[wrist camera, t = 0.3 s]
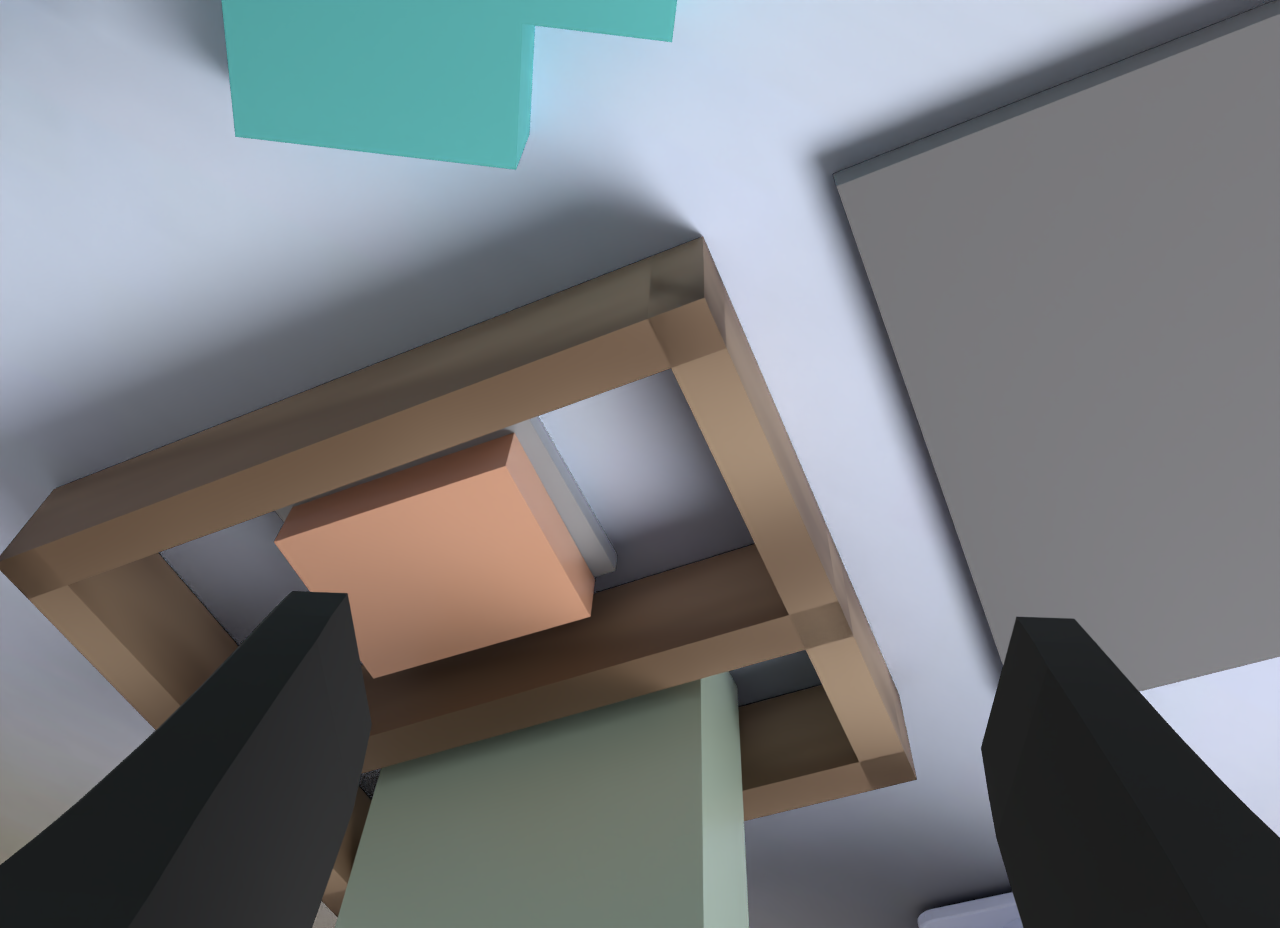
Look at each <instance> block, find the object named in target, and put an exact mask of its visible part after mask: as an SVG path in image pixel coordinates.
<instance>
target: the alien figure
mask: <svg viewBox="0 0 1280 928" xmlns="http://www.w3.org/2000/svg"><path fill="white" fill-rule="evenodd" d="M221 1H222V11H223V21H224V30H225V40H226V50H227V60H228V69H229V79H230V89H231V98H232V108H233V118H234V128H235V137H243V138H251V139H260V140H268V141H277V142H285V143H294V144H302V145H311V146H319V147H328V148H336V149H345V150H353V151H362V152H370V153H379V154H387V155H396V156H404V157H413V158H421V159H430V160H438V161H447V162H455V163H464V164H472V165H480V166H489V167H497V168H506V169H514V170H516V169H517V166H518V163H519V161H520V158H521V155H522V153H523V150H524V147H525V145H526V142H527V139H528V137H529V133H530V114H531V94H532V74H533V54H534V35H535V26H544V27H552V28H560V29H568V30H576V31H585V32H593V33H601V34H609V35H617V36H626V37H634V38H642V39H650V40H659V41H667V42H672V38H673V29H674V21H675V13H676V4H677V0H221Z"/></svg>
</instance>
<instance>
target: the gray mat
mask: <svg viewBox="0 0 1280 928" xmlns="http://www.w3.org/2000/svg"><path fill="white" fill-rule="evenodd" d="M833 176H834V180H835V183H836V186H837V189H838V192H839V195H840V198H841V201H842V204H843V207H844V209H845V212H846V215H847V218H848V221H849V224H850V227H851V230H852V233H853V235H854V238H855V241H856V244H857V247H858V250H859V253H860V256H861V258H862V261H863V264H864V267H865V270H866V273H867V276H868V279H869V281H870V284H871V287H872V290H873V293H874V296H875V299H876V302H877V304H878V307H879V310H880V313H881V316H882V319H883V322H884V325H885V328H886V330H887V333H888V336H889V339H890V342H891V345H892V348H893V351H894V353H895V356H896V359H897V362H898V365H899V368H900V371H901V374H902V376H903V379H904V382H905V385H906V388H907V391H908V394H909V397H910V399H911V402H912V405H913V408H914V411H915V414H916V417H917V420H918V423H919V425H920V428H921V431H922V434H923V437H924V440H925V443H926V446H927V448H928V451H929V454H930V457H931V460H932V463H933V466H934V469H935V471H936V474H937V477H938V480H939V483H940V486H941V489H942V492H943V494H944V497H945V500H946V503H947V506H948V509H949V512H950V515H951V518H952V520H953V523H954V526H955V529H956V532H957V535H958V538H959V541H960V543H961V546H962V549H963V552H964V555H965V558H966V561H967V564H968V566H969V569H970V572H971V575H972V578H973V581H974V584H975V587H976V589H977V592H978V595H979V598H980V601H981V604H982V607H983V610H984V613H985V615H986V618H987V621H988V624H989V627H990V630H991V633H992V636H993V638H994V641H995V644H996V647H997V650H998V653H999V656H1000V659H1001V661H1002V664H1003V665H1004V661H1005V657H1006V653H1007V650H1008V646H1009V642H1010V639H1011V635H1012V631H1013V628H1014V624H1015V620H1016V617H1043V618H1072V619H1075V620H1076V621H1077V622H1078V623H1079V624H1080V625H1081V627H1082V628H1083V629H1084V630H1085V631H1086V632H1087V633H1088V634H1089V635H1090V637H1091V638H1092V639H1093V640H1094V641H1095V642H1096V643H1097V645H1098V646H1099V647H1100V648H1101V649H1102V650H1103V651H1104V652H1105V654H1106V655H1107V656H1108V657H1109V658H1110V659H1111V660H1112V661H1113V663H1114V664H1115V665H1116V666H1117V667H1118V668H1119V669H1120V671H1121V672H1122V673H1123V674H1124V675H1125V676H1126V677H1127V678H1128V680H1129V681H1130V682H1131V683H1132V684H1133V685H1134V686H1135V687H1136V689H1137V690H1138V691H1143V690H1147V689H1151V688H1155V687H1159V686H1163V685H1167V684H1171V683H1175V682H1179V681H1183V680H1188V679H1192V678H1196V677H1200V676H1204V675H1208V674H1212V673H1216V672H1220V671H1224V670H1228V669H1232V668H1236V667H1240V666H1244V665H1248V664H1252V663H1256V662H1260V661H1264V660H1268V659H1272V658H1276V657H1280V0H1275V1H1272V2H1270V3H1267V4H1265V5H1262V6H1259V7H1257V8H1254V9H1252V10H1249V11H1247V12H1244V13H1242V14H1239V15H1237V16H1234V17H1231V18H1229V19H1226V20H1224V21H1221V22H1219V23H1216V24H1214V25H1211V26H1209V27H1206V28H1203V29H1201V30H1198V31H1196V32H1193V33H1191V34H1188V35H1186V36H1183V37H1180V38H1178V39H1175V40H1173V41H1170V42H1168V43H1165V44H1163V45H1160V46H1158V47H1155V48H1152V49H1150V50H1147V51H1145V52H1142V53H1140V54H1137V55H1135V56H1132V57H1130V58H1127V59H1124V60H1122V61H1119V62H1117V63H1114V64H1112V65H1109V66H1107V67H1104V68H1101V69H1099V70H1096V71H1094V72H1091V73H1089V74H1086V75H1084V76H1081V77H1079V78H1076V79H1073V80H1071V81H1068V82H1066V83H1063V84H1061V85H1058V86H1056V87H1053V88H1051V89H1048V90H1045V91H1043V92H1040V93H1038V94H1035V95H1033V96H1030V97H1028V98H1025V99H1023V100H1020V101H1017V102H1015V103H1012V104H1010V105H1007V106H1005V107H1002V108H1000V109H997V110H994V111H992V112H989V113H987V114H984V115H982V116H979V117H977V118H974V119H972V120H969V121H966V122H964V123H961V124H959V125H956V126H954V127H951V128H949V129H946V130H944V131H941V132H938V133H936V134H933V135H931V136H928V137H926V138H923V139H921V140H918V141H916V142H913V143H910V144H908V145H905V146H903V147H900V148H898V149H895V150H893V151H890V152H887V153H885V154H882V155H880V156H877V157H875V158H872V159H870V160H867V161H865V162H862V163H859V164H857V165H854V166H852V167H849V168H847V169H844V170H842V171H839V172H837V173H834V174H833Z"/></svg>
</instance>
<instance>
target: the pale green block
mask: <svg viewBox="0 0 1280 928" xmlns="http://www.w3.org/2000/svg"><path fill="white" fill-rule="evenodd" d="M335 928H749V915H748V894H747V874H746V853H745V833H744V812H743V792H742V771H741V751H740V730H739V710H738V689H737V686H736V684H735V682H734V680H733V678H732V676H731V674H730V673H729V671H727V672H724V673H720V674H717V675H713V676H709V677H706V678H702V679H699V680H695V681H692V682H688V683H684V684H681V685H677V686H674V687H670V688H666V689H663V690H659V691H656V692H652V693H649V694H645V695H641V696H638V697H634V698H631V699H627V700H623V701H620V702H616V703H613V704H609V705H606V706H602V707H598V708H595V709H591V710H588V711H584V712H581V713H577V714H573V715H570V716H566V717H563V718H559V719H555V720H552V721H548V722H545V723H541V724H538V725H534V726H530V727H527V728H523V729H520V730H516V731H512V732H509V733H505V734H502V735H498V736H495V737H491V738H487V739H484V740H480V741H477V742H473V743H469V744H466V745H462V746H459V747H455V748H452V749H448V750H444V751H441V752H437V753H434V754H430V755H427V756H423V757H419V758H416V759H412V760H409V761H405V762H401V763H398V764H394V765H391V766H387V767H384V768H381V770H380V774H379V777H378V781H377V784H376V788H375V791H374V794H373V798H372V801H371V805H370V808H369V812H368V815H367V819H366V822H365V826H364V829H363V832H362V836H361V839H360V843H359V846H358V850H357V853H356V857H355V860H354V864H353V867H352V870H351V874H350V877H349V881H348V884H347V888H346V891H345V895H344V898H343V902H342V905H341V909H340V912H339V915H338V919H337V922H336V926H335Z"/></svg>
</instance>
